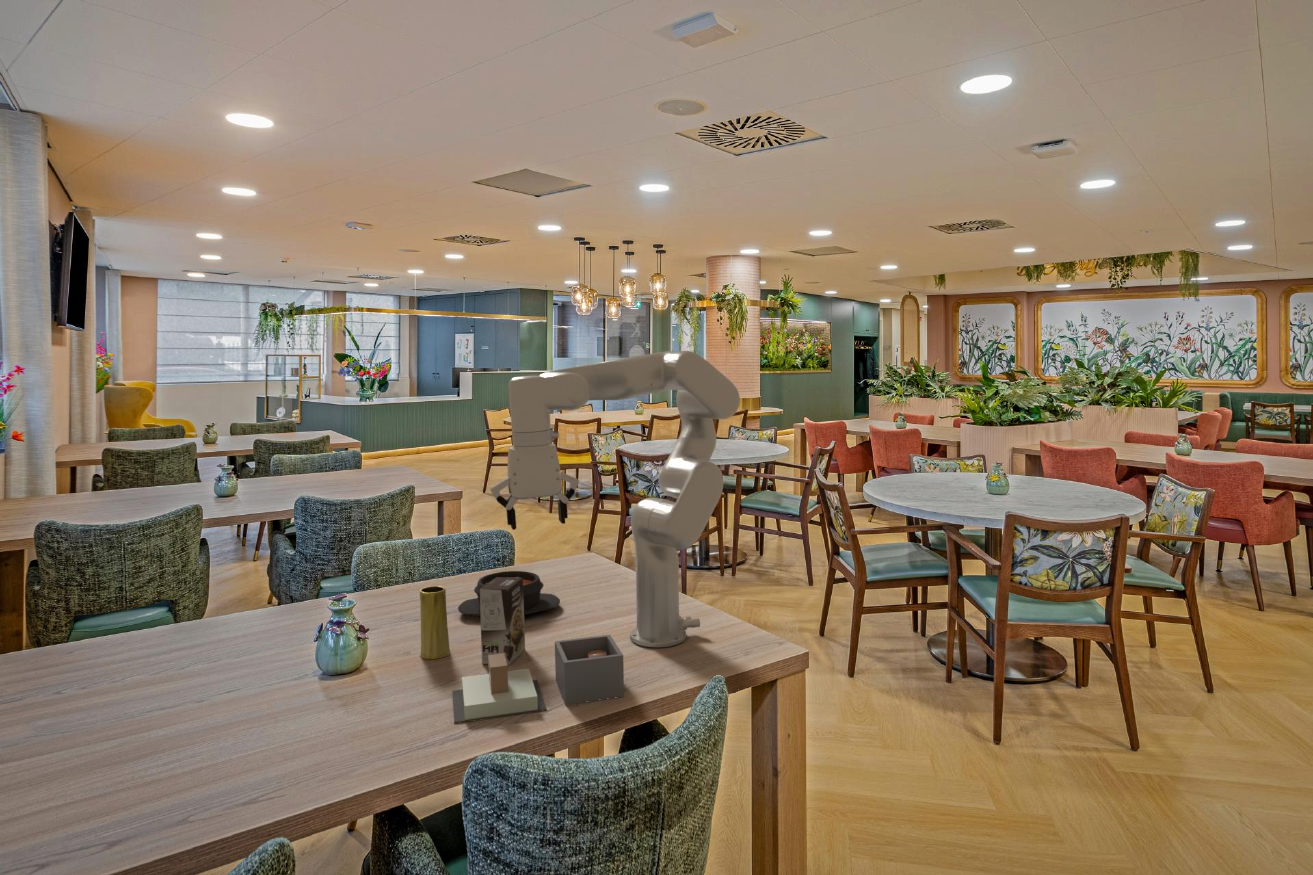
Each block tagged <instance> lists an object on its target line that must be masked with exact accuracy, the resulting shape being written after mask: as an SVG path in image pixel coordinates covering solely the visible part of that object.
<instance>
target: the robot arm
mask: <svg viewBox="0 0 1313 875" xmlns="http://www.w3.org/2000/svg"><path fill="white" fill-rule="evenodd" d="M667 391H677V392H676V396H675V399H676V400H675V401H676V406H677V410H678V412H679V415H680V420H681V428H680V434H679V436H678V438H677V441H676V443H675V445H674V447H673V449H672V450H671V452H670V454H669V456H668V458H667V460H666V461H665V463H664V464H663V467H662V469H661V471H660V473H659V476H658V479H657V480H658V487H659V489H660V491H661V492H662V493H664V494H665V495H666V496H668V497H671V498H674V499H676V501H672V500H669V499H665V498H660V497H646V498H643V499H642V500H640V501H638V502H637V504H636V505H635V506H634V508H633V510H632V511H631V512H632V513H631V516H630V526H631V532H632V533H631V534H632V538H633V544H634V550H635V594H636V595H635V597H636V598H635V599H636V602H635V603H636V627H634V628H633V629H631V631H630V632H629V638H630V640H631V641H632V642H633V643H634V644H636V645H639V646H642V647H648V648H668V647H674V646H677V645H680V644H681V643H683V642H684V641H685V640H686V638H687V631H686V630H688V628H690V629H691V628H700V627H701V620H700V618H692V617H691V616H684V617H682V616H680V588H679V586H680V580H679V579H680V576H679V575H680V573H679V572H680V571H679V570H680V567H679V566H680V564H679V563H680V562H679V561H680V560H679V555H678V550H685V549H688V548H690V547H692V546H693V545H694V544H696V543H697V541H698V540H699V538H700V537H701V535H702V534H703V532H704V529H705V528H706V526H707V524H708V522H709V521H710V518H711V517H712V514H713V513H714V511H715V508H716V507H717V505H718V503H719V501H720V499H721V496H722V494H723V489H724V475H723V472H722V470H721V469H720V467H719V466H718V465H717V464H716V463H714V462H713V461H710V460H711V457H712V456H713V453H714V451H715V448H716V444H717V433H716V432H717V431H716V428H715V424H714V420H727V419H729V418H731V417H733V416H734V415H735V414H736V413H737V411H738V410H739V408H740V404H741V398H740V393H739V390H738V388H737V386H736V385H735V384H734V383H733V382H732V381H731V379H729V378H727V377H726V376H725V375H724V374H723V373H722V372H721V371H719V369H717V368H716V367H715V366H713V365H712V364H711V363H710V362H709V361H708V360H706V359H705V358H704V357H703V356H701V355H699V354H698V353H696V352H694V351H691V350H665V351H660V352H659V351H657V352H653V353H647V354H642V355H636V356H632V357H625V358H618V359H613V360H607V361H603V362H601V361H600V362H598V363H593V364H586V365H580V366H574V367H573V366H572V367H568V368H561V369H556V370H550V371H546V372H542V373H541V374H539V375H523V376H520V375H519V376H515V377H512V378H511V379H509V381H508V398H509V411H510V412H509V413H510V423H511V434H512V436H511V438H512V440H511V441H512V446H510V447H509V448H508V453H507V477H506V478H504V479H502V480H500V481H499V482H497V483H495V484H494V485H492V486H491V487H490V489H489V491H490V492H491V494H492V495H493V497H494V498H495V500H496V502H498V504H500V505H501V506H502V507H504V508H505V509H506V520H507V522H506V523H507V526H510V527H511V530H513V531H514V530H516V529H517V518H516V517H517V516H516V509H515V508H514V506H515V505H516V503H517V502H518V500H526V499H536V498H544V497H551V496H552V497H553V496H556V497H557V498H558V500H559V501H558V502H557V510H558V521H559V522H560V523H561V524H562V525H563V524H566V519H568V518H569V517H568V503H569V501H570V500H571V498H572V497H573V496H574V495H575V493H576V490H577V488H578V486H579V483H580V480H579V479H578V478H576V477H574V476H571V475H569V474H567V473H564V472H562V471H561V465H560V460H559V456H558V454H559V453H558V450H557V445H556V444H555V443H553V441H554V440H555V439H559V437H560V435H559V431H554V430H552V428H551V427H552V426H551V411H568V412H569V411H570V412H571V411H576V410H579V409H581V408H582V407H584V406H585V405H586V404H587V403H588V401H589V402H590V401H622V400H629V399H633V398H637V397H642V396H643V397H644V396H647V395H651V394H658V393H662V392H667ZM562 481H565V482H567V483H569V485H568V486H569V487H568V488H567V489H566V490H565V492H564V493H563V491H562V490H563V482H562ZM505 488H507V489H508V493H509V496H508V498H507V499H506V498H505V497H504V496H502V494H501V493H500V492H501V490H503V489H505Z"/></svg>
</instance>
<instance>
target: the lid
mask: <svg viewBox="0 0 1313 875" xmlns="http://www.w3.org/2000/svg"><path fill="white" fill-rule="evenodd" d="M487 666H488V673H484V674H483V673H482V674H477V675H469V676H468V675H467V676H462V677H461V689H462V691H463V702H464V713H465V720H468V719H475V718H482V717H489V716H496V715H503V714H510V713H517V712H524V711H531V710H538V701H537V693H536V690H535V687H534V684H533V681H532V680H533V676H532V675H531V672H530V668H524V669H516V670H515V669H514V670H508V666H507V662H506V658H505V654H504V653H501V654H493V655H488V664H487Z"/></svg>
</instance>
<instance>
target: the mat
mask: <svg viewBox="0 0 1313 875" xmlns="http://www.w3.org/2000/svg"><path fill="white" fill-rule="evenodd" d="M532 681H533V684H534V687H535V690H536V693H537V701H538V710H531V711H524V712H517V713H510V714H503V715H496V716H489V717H482V718H475V719H468V720H465V713H464V702H463V691H462V688H461V689H455V690H452V707H453V708H452V709H453V722H454V723H455V724H460V723H459V722H462V723H465V722H464V721H469V722H474V721H473V720H476V721H481V720H480V719H483V720H489V719H495V718H503V716H504V717H509V716H516V715H517V714H518V715H523V714H524V715H525V714H531V713H530V712H532V713H537V712H536V711H539V712H543V711H542V710H546V711H547V706H546V702H545V700H544V696H543V693H542V690H541V688H540V685H539V681H538V679H532ZM518 715H517V716H518Z"/></svg>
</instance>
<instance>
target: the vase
mask: <svg viewBox="0 0 1313 875" xmlns="http://www.w3.org/2000/svg"><path fill="white" fill-rule="evenodd" d="M446 590H447V589H446V588H445V587H444V586H443V585H430V586H425V587H422V588H420V590H419V599H420V657H421V658H422V659H425V660H437V659H441V658H445V657H447V656H449V655H450V653H451V649H450V637H449V630H448V628H449V627H448V614H447V596H446V595H447V594H446V592H447V591H446Z"/></svg>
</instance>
